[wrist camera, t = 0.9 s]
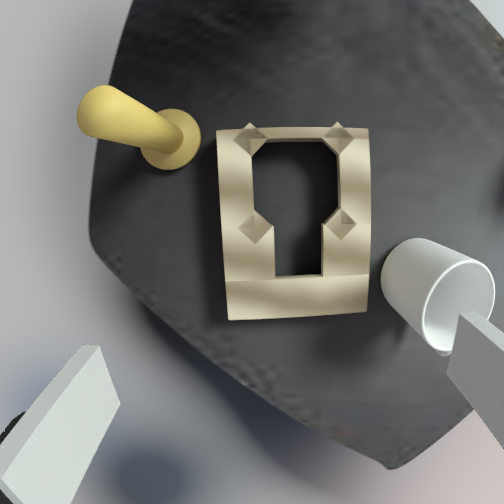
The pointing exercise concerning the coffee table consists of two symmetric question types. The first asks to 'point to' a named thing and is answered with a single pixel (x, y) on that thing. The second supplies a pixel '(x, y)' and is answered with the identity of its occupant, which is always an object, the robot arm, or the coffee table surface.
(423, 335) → the mug
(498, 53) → the coffee table surface
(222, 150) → the keyhole board
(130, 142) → the headed peg
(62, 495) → the robot arm
